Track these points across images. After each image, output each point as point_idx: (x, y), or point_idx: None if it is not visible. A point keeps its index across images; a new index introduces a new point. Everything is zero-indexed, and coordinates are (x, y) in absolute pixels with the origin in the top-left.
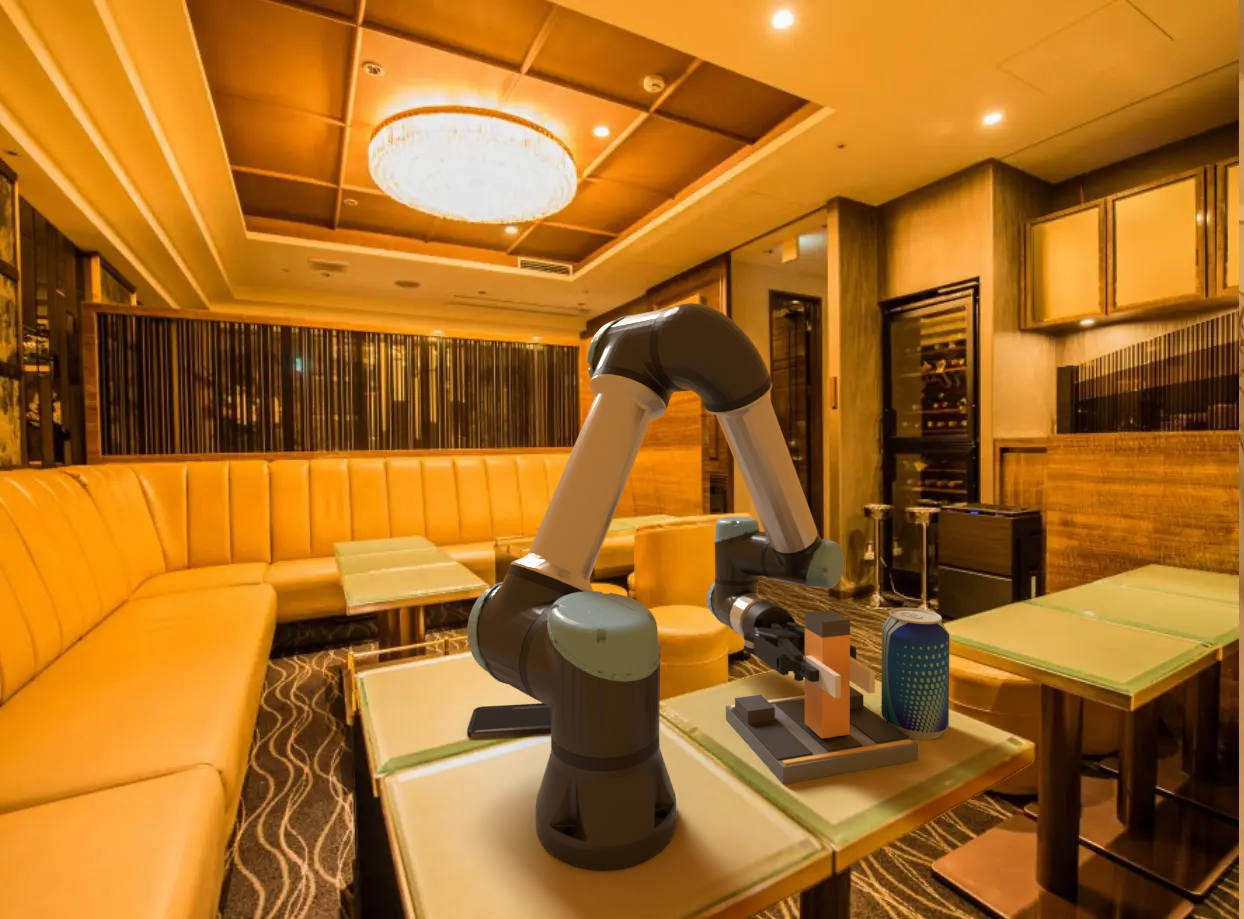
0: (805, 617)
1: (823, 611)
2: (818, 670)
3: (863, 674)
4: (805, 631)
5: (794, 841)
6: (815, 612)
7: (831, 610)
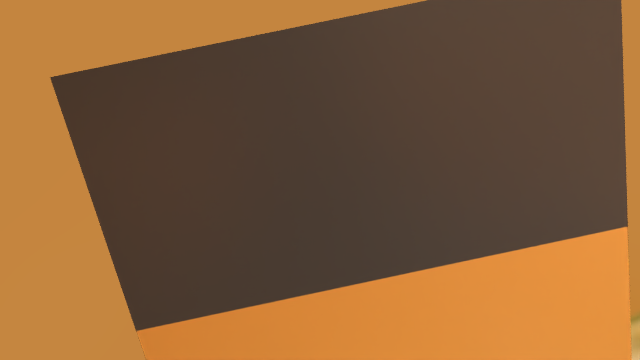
0: (607, 45)
1: (246, 38)
2: None
3: None
4: (615, 268)
5: (634, 356)
6: (412, 4)
7: (68, 74)
